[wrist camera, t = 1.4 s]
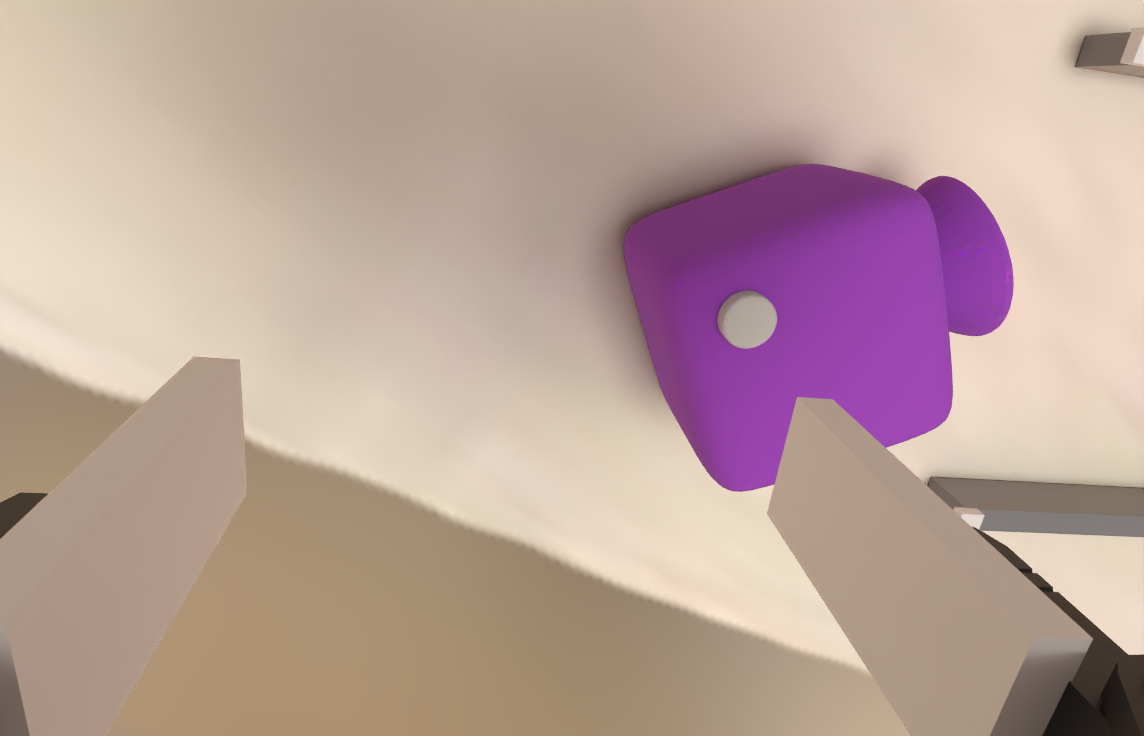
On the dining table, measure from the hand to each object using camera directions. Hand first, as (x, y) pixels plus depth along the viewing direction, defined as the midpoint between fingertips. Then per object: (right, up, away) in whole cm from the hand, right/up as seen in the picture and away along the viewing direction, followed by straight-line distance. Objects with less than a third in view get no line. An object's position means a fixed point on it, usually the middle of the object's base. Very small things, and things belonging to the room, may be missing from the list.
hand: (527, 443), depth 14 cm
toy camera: (+10, +6, +18) cm, 22 cm away
